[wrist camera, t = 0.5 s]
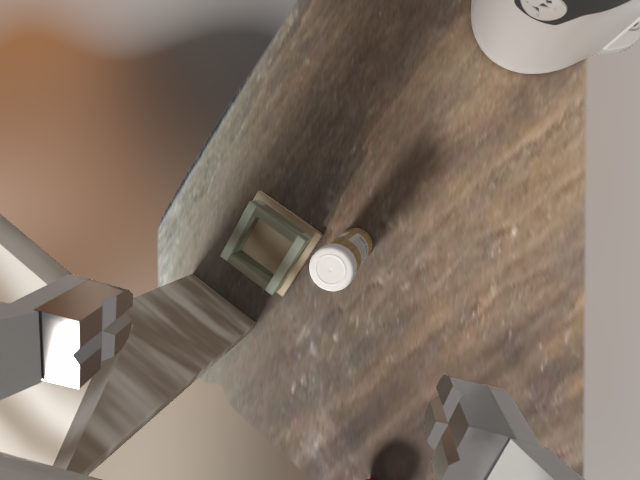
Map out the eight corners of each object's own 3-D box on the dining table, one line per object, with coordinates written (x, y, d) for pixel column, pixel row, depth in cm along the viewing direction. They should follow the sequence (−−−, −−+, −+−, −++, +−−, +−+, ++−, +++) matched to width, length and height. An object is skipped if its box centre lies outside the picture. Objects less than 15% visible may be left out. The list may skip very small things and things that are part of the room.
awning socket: (242, 177, 48) (-51, 173, 18) (323, 234, 46) (141, 334, 16) (187, 283, 54) (-98, 409, 24) (257, 338, 52) (37, 548, 22)
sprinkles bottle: (338, 228, 45) (306, 246, 32) (372, 226, 44) (352, 246, 31) (340, 260, 46) (309, 292, 33) (374, 260, 44) (354, 293, 32)
